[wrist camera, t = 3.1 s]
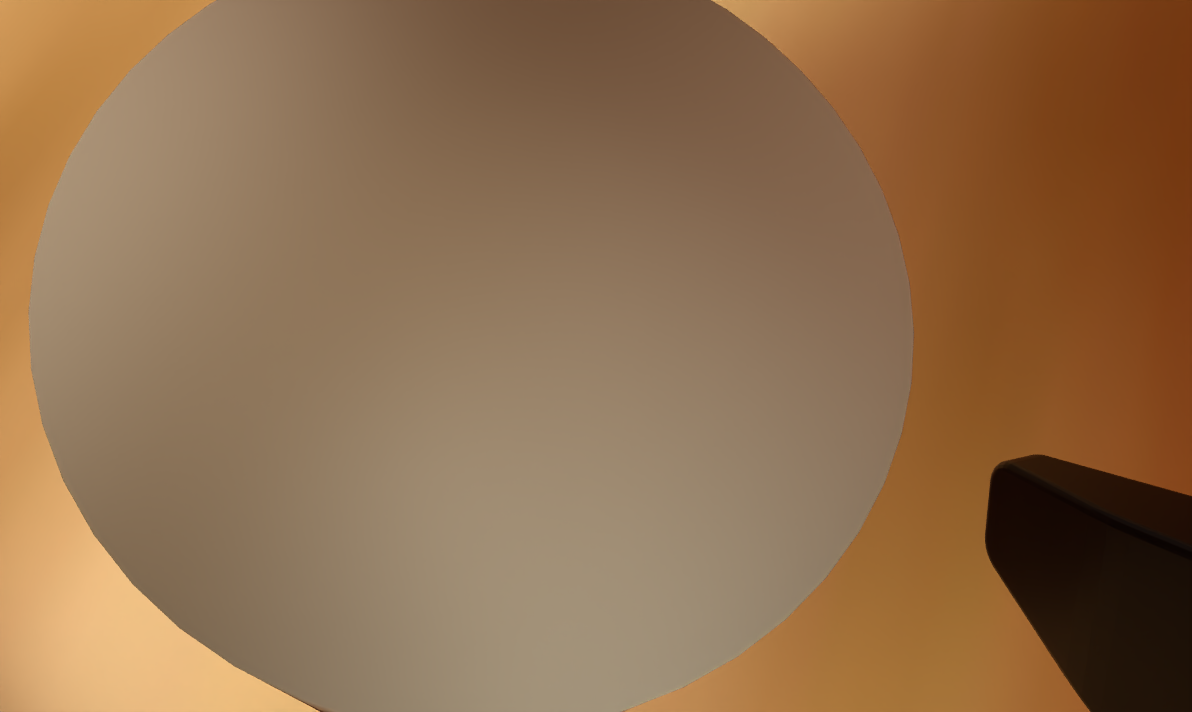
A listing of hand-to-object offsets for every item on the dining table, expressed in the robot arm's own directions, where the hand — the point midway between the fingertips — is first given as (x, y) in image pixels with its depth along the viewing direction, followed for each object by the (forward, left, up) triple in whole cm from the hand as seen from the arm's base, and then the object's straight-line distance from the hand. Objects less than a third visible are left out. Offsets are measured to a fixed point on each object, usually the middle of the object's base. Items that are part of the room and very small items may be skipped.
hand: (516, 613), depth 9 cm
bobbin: (+1, -1, -9) cm, 9 cm away
